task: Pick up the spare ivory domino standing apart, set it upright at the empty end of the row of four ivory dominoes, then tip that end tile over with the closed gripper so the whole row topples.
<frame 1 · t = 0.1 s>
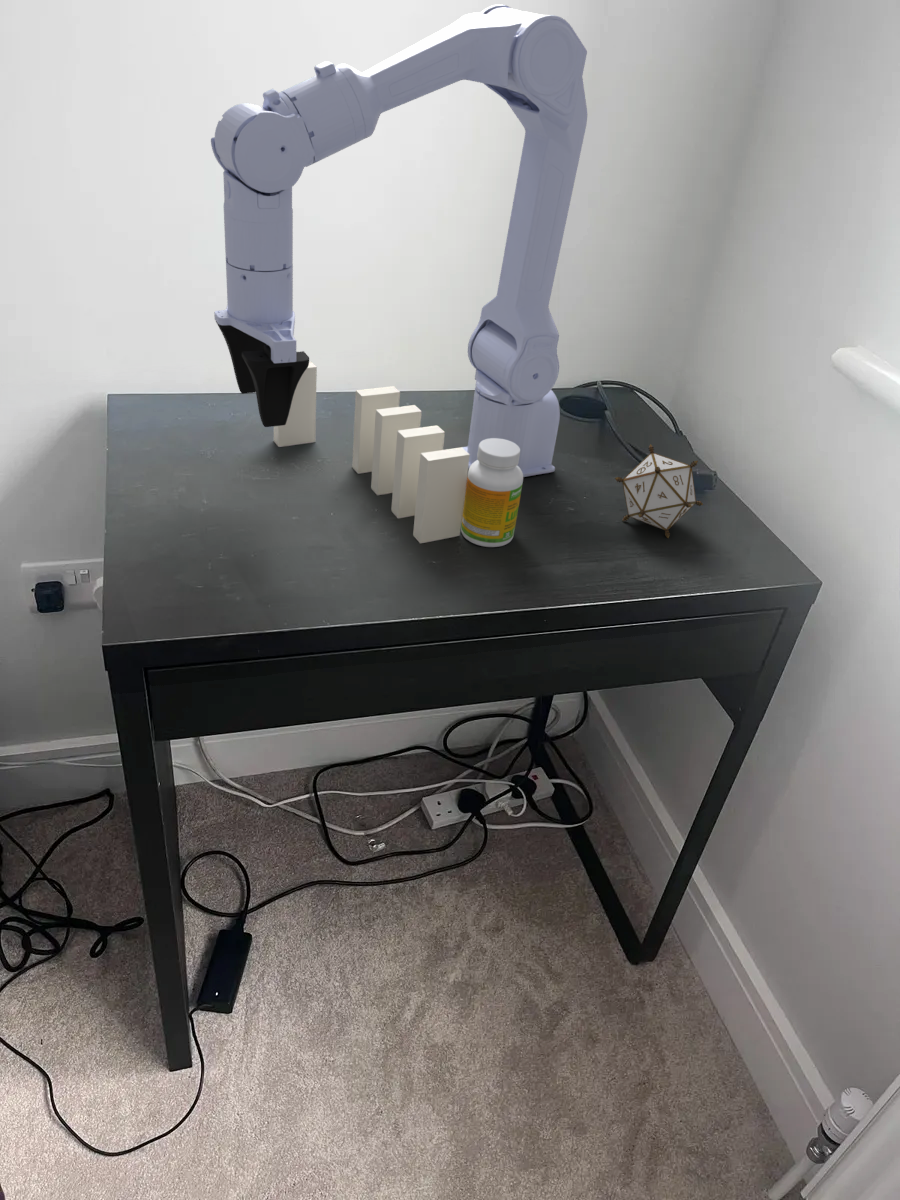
hand: (262, 407, 87), 10 cm above the table, tool pointing down, fingers open, 7 cm apart
domino 4: (413, 511, 95), on the table
supplement bottle: (486, 536, 92), on the table
domino 3: (392, 488, 98), on the table
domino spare: (294, 441, 105), on the table
domino 5: (436, 535, 91), on the table
domino 2: (373, 467, 101), on the table
game die: (650, 525, 98), on the table
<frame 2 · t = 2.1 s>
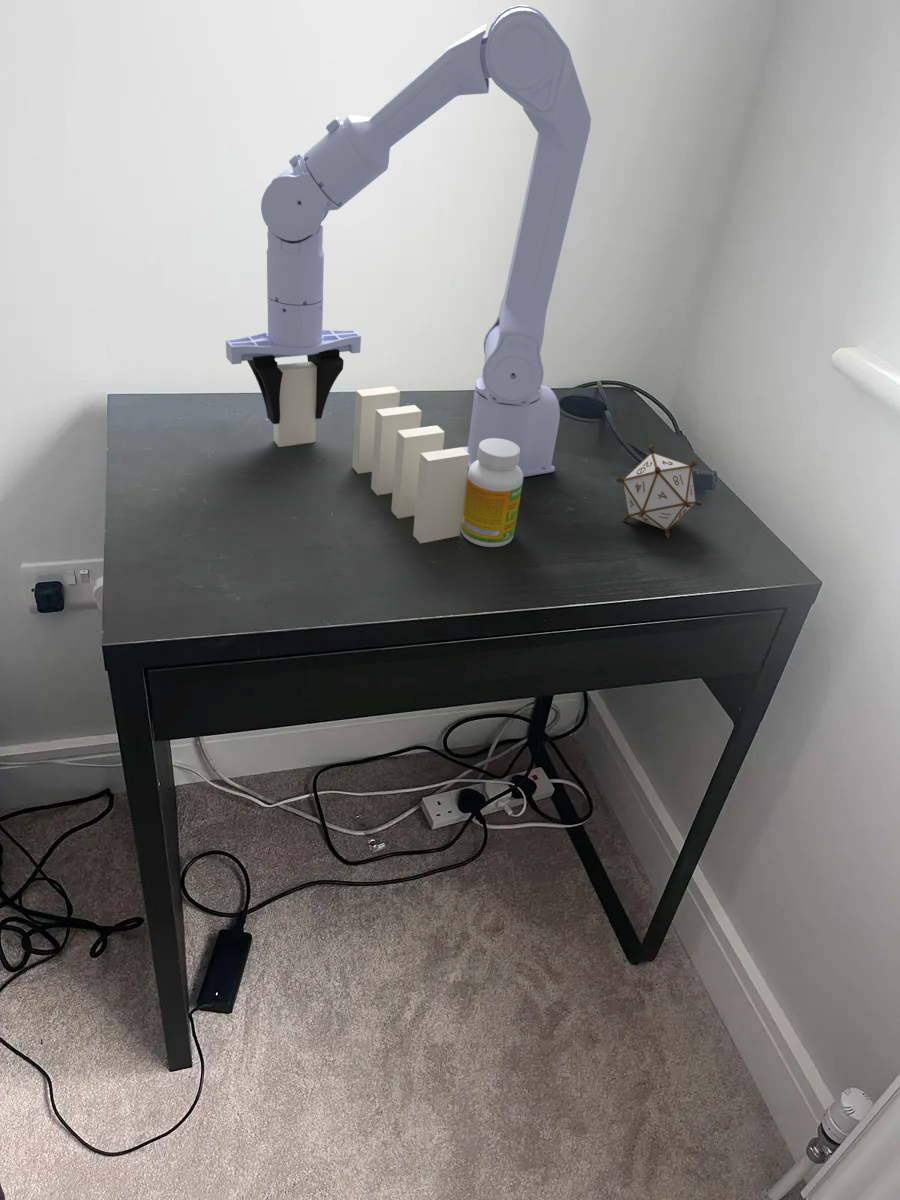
hand: (294, 417, 103), 3 cm above the table, tool pointing down, fingers closed on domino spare, 4 cm apart
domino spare: (294, 441, 105), on the table, touching gripper
everything else where it was.
when the fingers open (4 cm above the table, at t = 4.9 s): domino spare stays where it is, on the table.
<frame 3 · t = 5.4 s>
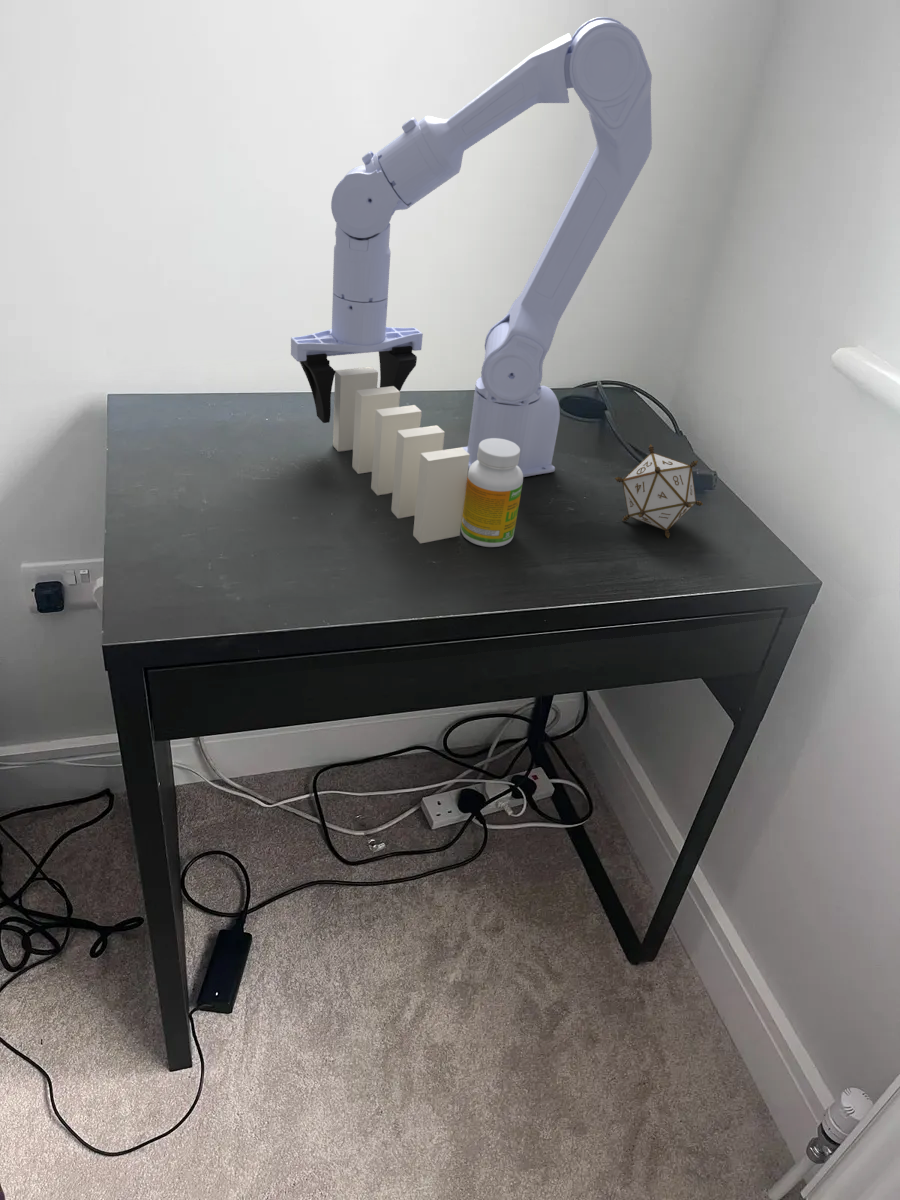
hand: (354, 415, 103), 4 cm above the table, tool pointing down, fingers open, 7 cm apart
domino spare: (353, 446, 105), on the table
everything else where it was.
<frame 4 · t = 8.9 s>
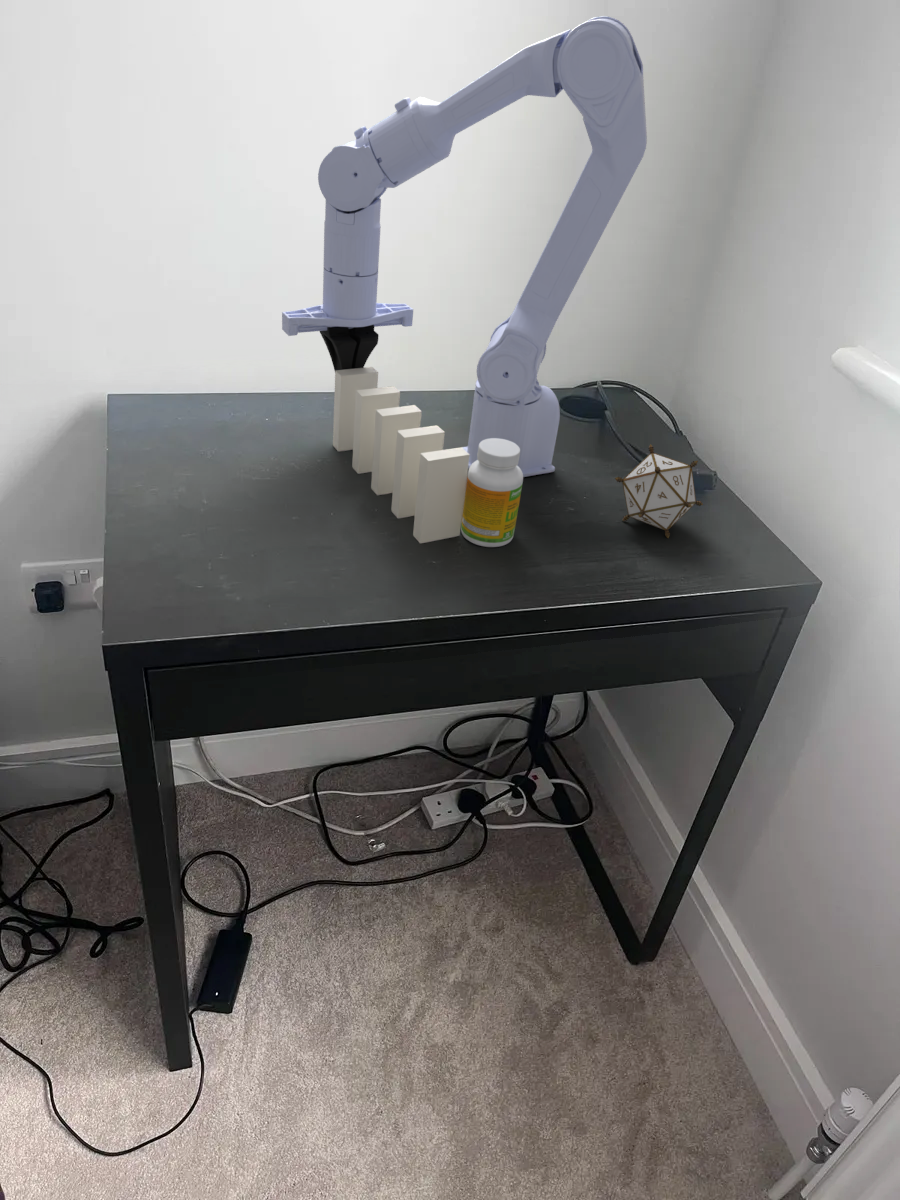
hand: (346, 391, 104), 6 cm above the table, tool pointing down, fingers closed, pressing on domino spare
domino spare: (353, 446, 105), on the table, touching gripper
everything else where it was.
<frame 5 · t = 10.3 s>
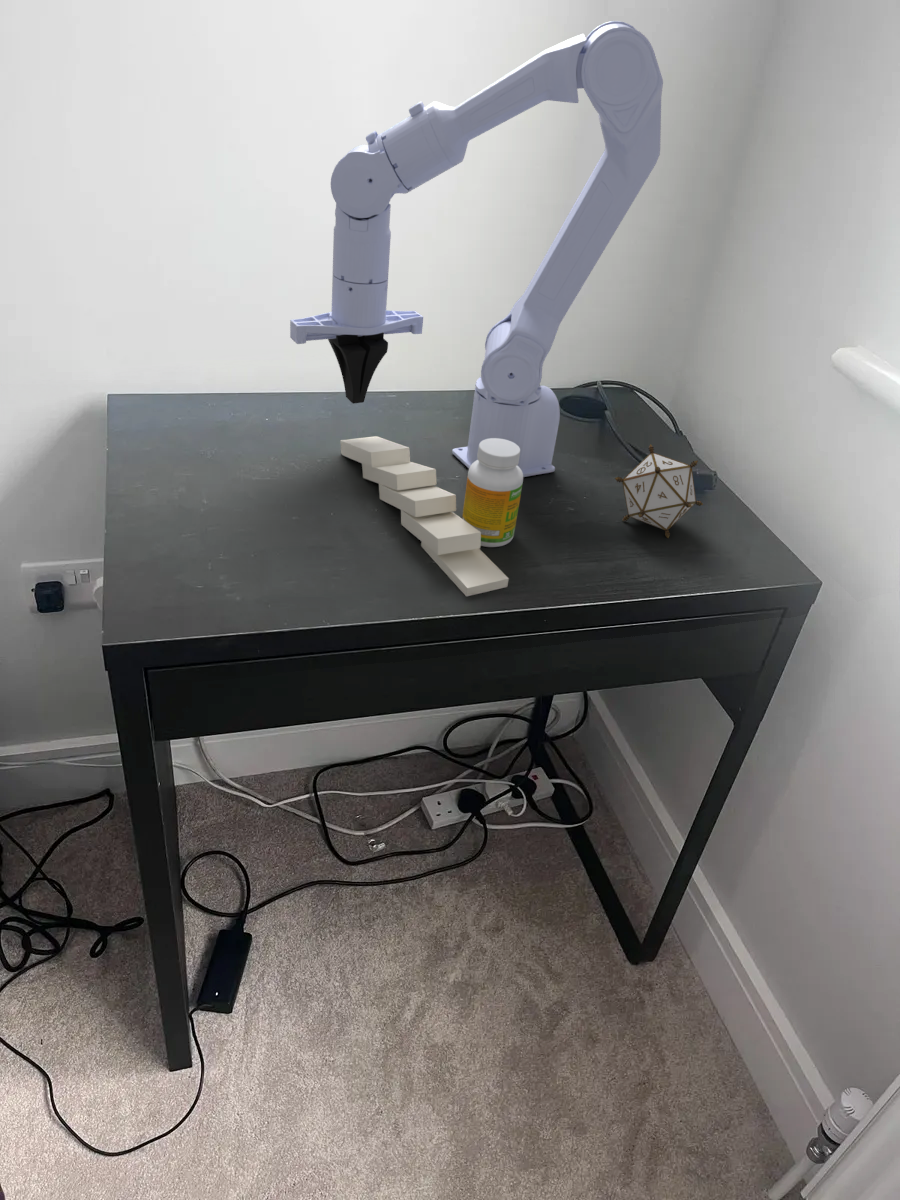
hand: (354, 399, 102), 6 cm above the table, tool pointing down, fingers closed
domino 4: (421, 514, 93), point 1 cm above the table, tilted 78°, touching domino 3, domino 5
domino 3: (398, 488, 97), point 1 cm above the table, tilted 73°, touching domino 2, domino 4
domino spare: (359, 445, 104), point 1 cm above the table, tilted 73°, touching domino 2
domino 5: (441, 541, 90), on the table, tilted 90°, touching domino 4
domino 2: (381, 467, 100), point 1 cm above the table, tilted 71°, touching domino 3, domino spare
everything else where it was.
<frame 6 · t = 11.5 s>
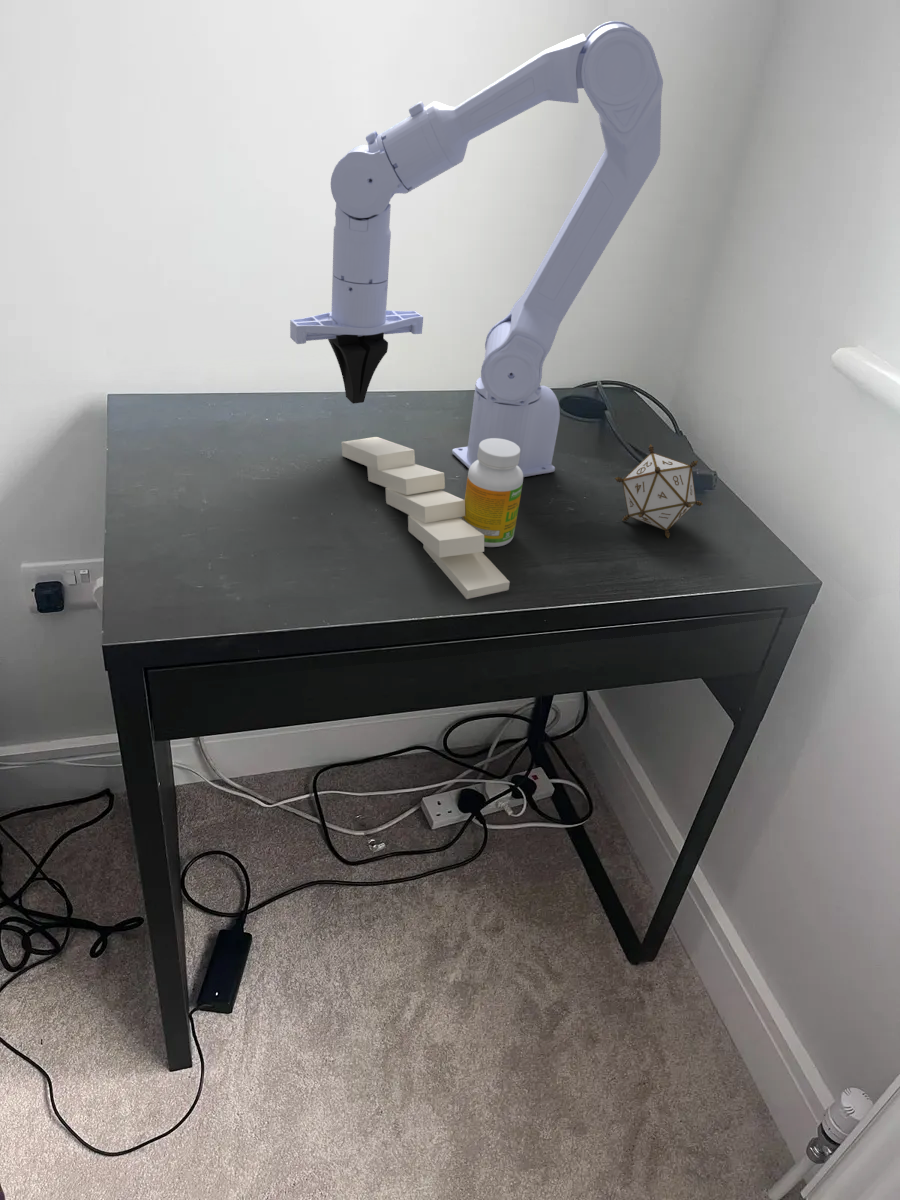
hand: (354, 399, 102), 6 cm above the table, tool pointing down, fingers closed
domino 4: (429, 520, 92), point 1 cm above the table, tilted 74°, touching domino 3
domino 5: (443, 543, 90), on the table, tilted 90°
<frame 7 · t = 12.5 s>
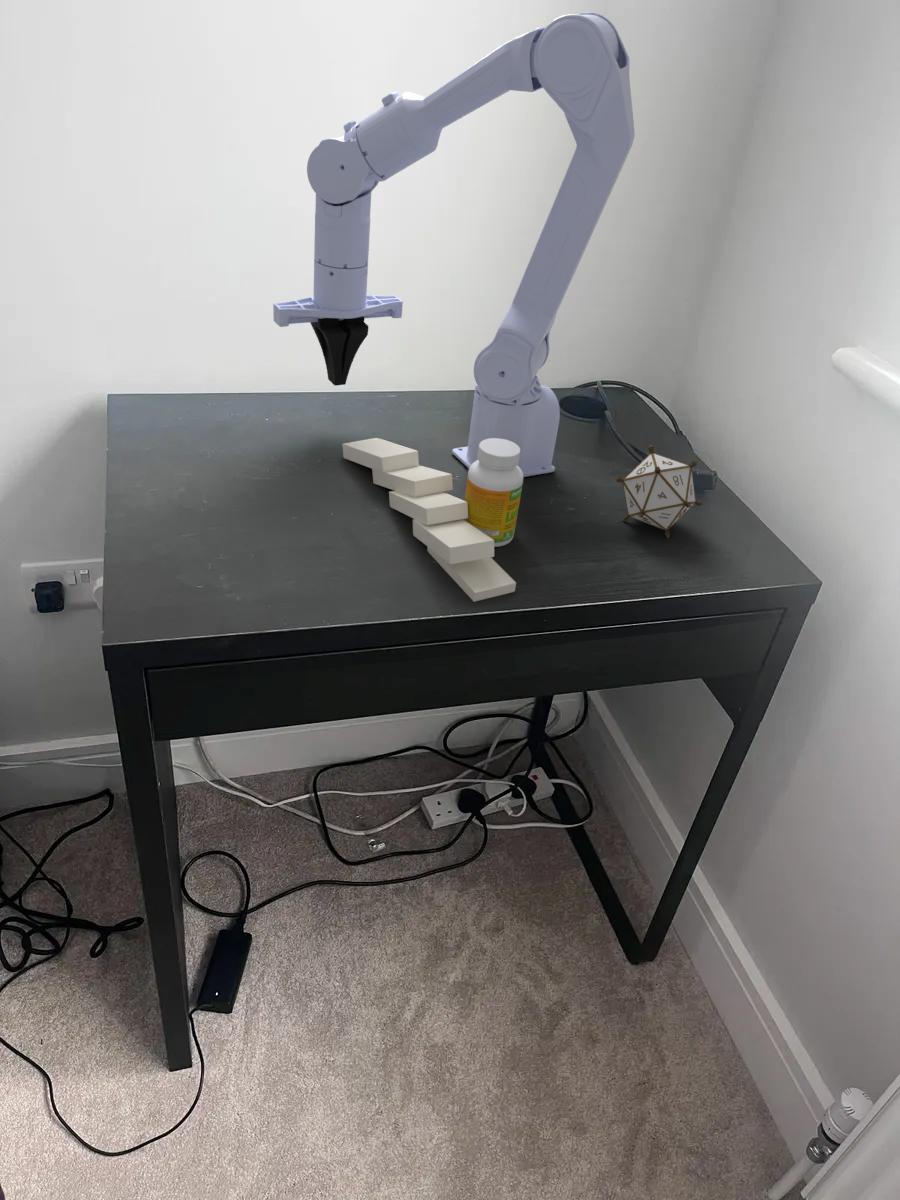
hand: (336, 381, 105), 6 cm above the table, tool pointing down, fingers closed
domino 4: (433, 524, 90), point 1 cm above the table, tilted 76°, touching domino 3
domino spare: (360, 447, 103), point 1 cm above the table, tilted 74°
domino 2: (390, 472, 99), point 1 cm above the table, tilted 72°, touching domino 3
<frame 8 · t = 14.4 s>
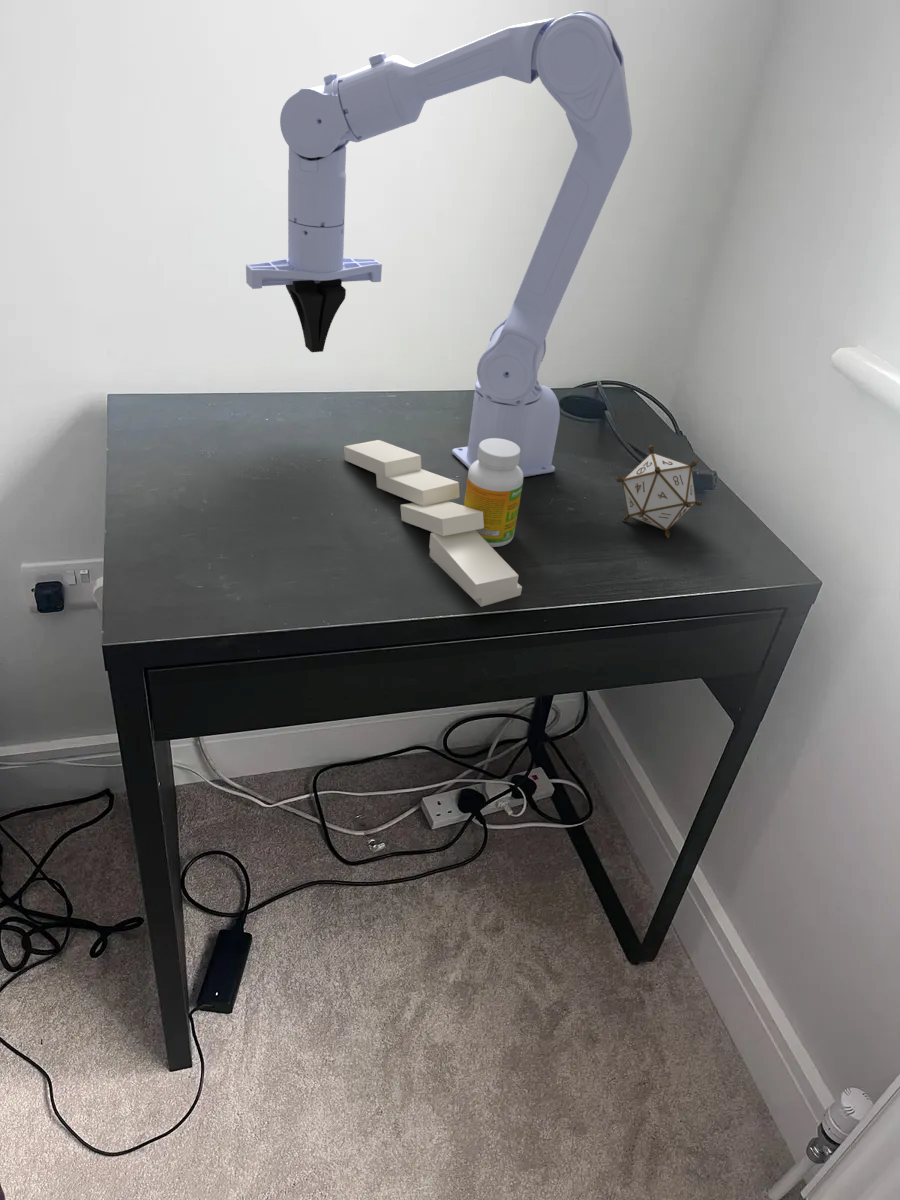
hand: (314, 348, 102), 10 cm above the table, tool pointing down, fingers closed
domino 4: (450, 536, 88), point 2 cm above the table, tilted 90°, touching domino 3, domino 5
supplement bottle: (486, 536, 92), on the table, touching domino 3
domino 3: (420, 509, 93), point 1 cm above the table, tilted 70°, touching supplement bottle, domino 2, domino 4
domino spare: (362, 450, 103), point 1 cm above the table, tilted 76°, touching domino 2
domino 5: (448, 550, 89), on the table, tilted 90°, touching domino 4
domino 2: (394, 476, 99), point 1 cm above the table, tilted 75°, touching domino 3, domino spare
everything else where it was.
at the end: domino 5 tilted 90°; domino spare tilted 76°; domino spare inside the target area (1.1 cm from its centre), point 0.8 cm above the table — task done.
